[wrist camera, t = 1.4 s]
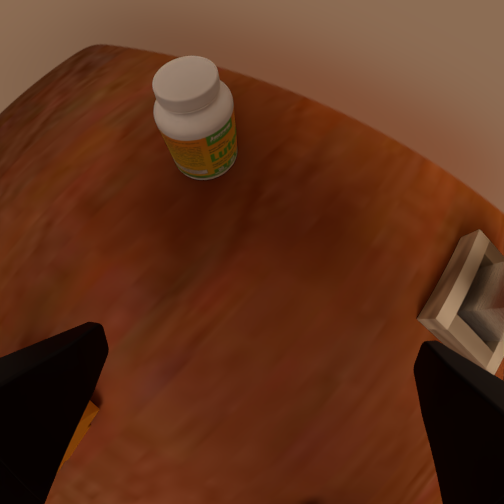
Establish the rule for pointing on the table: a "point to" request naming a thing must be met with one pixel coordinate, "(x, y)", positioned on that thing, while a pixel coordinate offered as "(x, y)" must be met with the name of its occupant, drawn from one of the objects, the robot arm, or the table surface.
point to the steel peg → (485, 303)
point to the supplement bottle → (195, 117)
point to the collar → (452, 295)
